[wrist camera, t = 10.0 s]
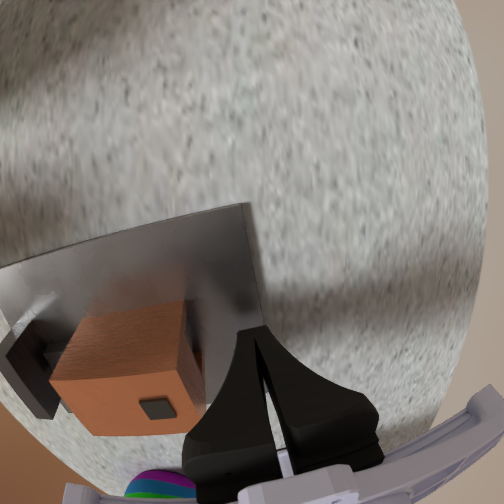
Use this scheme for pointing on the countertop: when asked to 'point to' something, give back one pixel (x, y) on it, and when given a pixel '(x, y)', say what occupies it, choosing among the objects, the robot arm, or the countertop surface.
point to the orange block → (133, 373)
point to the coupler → (130, 295)
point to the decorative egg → (161, 486)
